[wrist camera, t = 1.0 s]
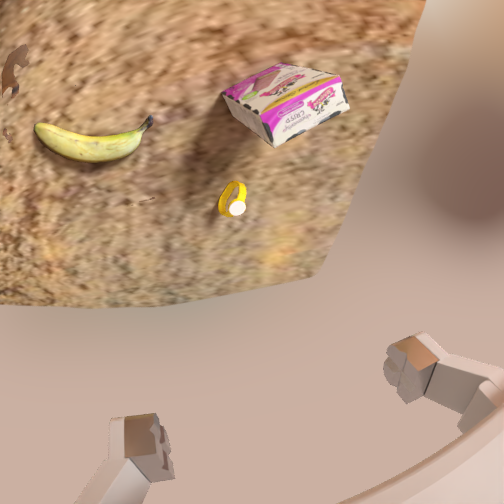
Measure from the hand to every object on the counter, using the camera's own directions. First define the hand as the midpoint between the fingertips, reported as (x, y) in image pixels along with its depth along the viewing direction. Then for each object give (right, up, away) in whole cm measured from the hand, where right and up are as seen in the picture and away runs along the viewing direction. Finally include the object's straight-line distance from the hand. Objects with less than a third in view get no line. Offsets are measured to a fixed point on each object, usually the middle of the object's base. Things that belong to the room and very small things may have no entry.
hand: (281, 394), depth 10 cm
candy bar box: (0, +30, +36) cm, 47 cm away
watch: (-5, +15, +45) cm, 48 cm away
